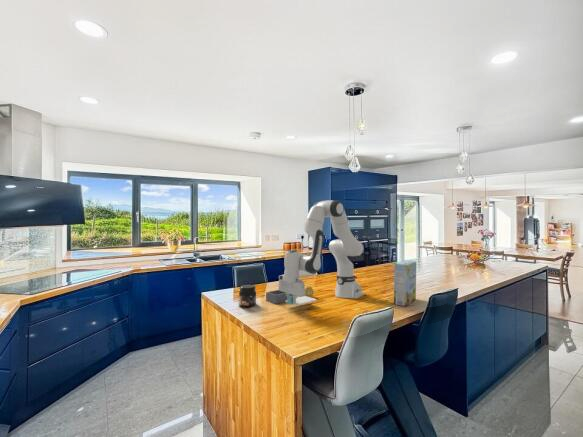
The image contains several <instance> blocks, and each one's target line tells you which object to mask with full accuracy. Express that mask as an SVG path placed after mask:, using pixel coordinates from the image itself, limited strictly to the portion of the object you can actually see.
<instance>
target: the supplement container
mask: <svg viewBox="0 0 583 437" xmlns="http://www.w3.org/2000/svg"><path fill="white" fill-rule="evenodd" d="M238 295H239V296H238V299H239V300H238V306H239V307H240V308H242V307H243V308H242V309H251V308H252V307H255V306H257V291H256V285H254V284H243V285H240V286H239V292H238Z"/></svg>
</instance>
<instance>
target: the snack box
mask: <svg viewBox="0 0 583 437" xmlns="http://www.w3.org/2000/svg"><path fill="white" fill-rule="evenodd" d="M393 280H394V282H393V283H394V284H393V286H394V287H393V305H397V306H401V307H408V306H409V305H410V304H411V303H412V302H414V301H416V299H417V297H416V296H417V261H415V260H407V259H406V260H401V261H399V262H397V263H394V278H393Z"/></svg>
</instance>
